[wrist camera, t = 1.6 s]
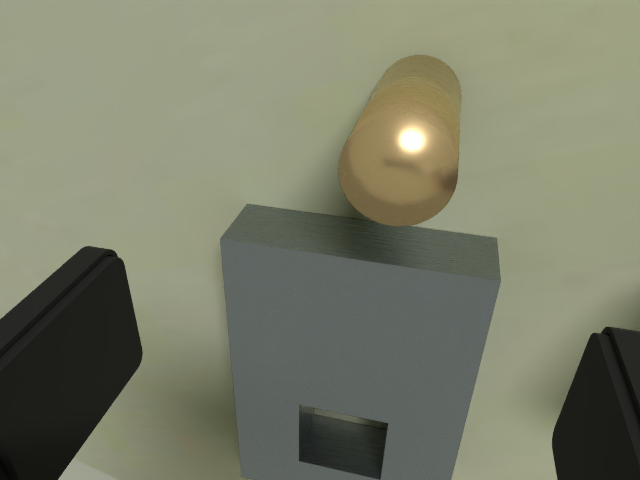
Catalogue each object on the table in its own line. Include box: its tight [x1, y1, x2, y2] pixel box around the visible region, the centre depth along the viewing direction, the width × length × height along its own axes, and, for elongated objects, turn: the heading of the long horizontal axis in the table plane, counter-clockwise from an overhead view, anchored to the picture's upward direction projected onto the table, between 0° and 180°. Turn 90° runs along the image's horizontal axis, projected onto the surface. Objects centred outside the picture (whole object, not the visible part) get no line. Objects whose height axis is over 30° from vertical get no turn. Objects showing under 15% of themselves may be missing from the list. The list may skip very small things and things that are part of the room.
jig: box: [220, 204, 501, 480], centre depth 33 cm, size 14×20×4 cm
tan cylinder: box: [338, 55, 461, 226], centre depth 21 cm, size 4×4×9 cm
